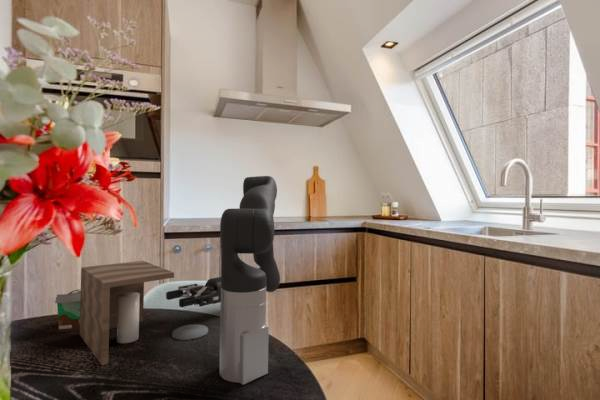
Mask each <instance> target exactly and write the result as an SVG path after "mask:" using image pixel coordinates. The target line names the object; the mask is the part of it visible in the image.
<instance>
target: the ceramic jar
mask: <svg viewBox="0 0 600 400" xmlns="http://www.w3.org/2000/svg"><path fill="white" fill-rule="evenodd" d="M139 301H140V293H137V292H130V293H123V294H120V295H118V312H117V327H116V342H117V343H118V344H129V343H130V344H131V343H133V342H136V341H137V340H139V338H140V322H139Z"/></svg>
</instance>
